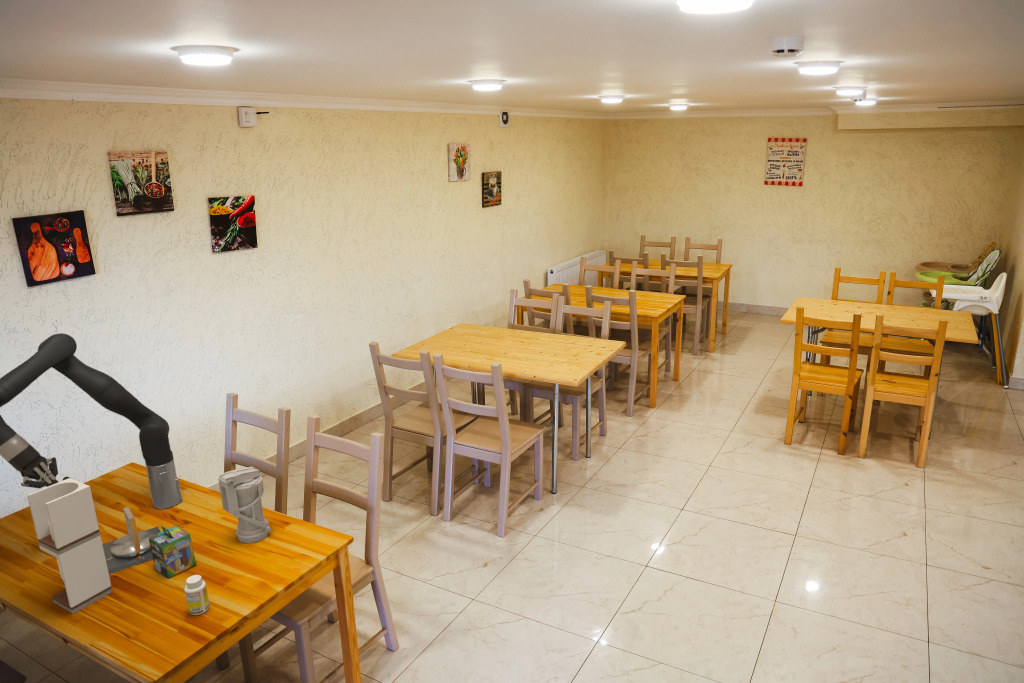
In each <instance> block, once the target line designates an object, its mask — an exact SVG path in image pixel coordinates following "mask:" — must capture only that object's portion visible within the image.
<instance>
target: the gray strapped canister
mask: <svg viewBox="0 0 1024 683" xmlns="http://www.w3.org/2000/svg"><path fill="white" fill-rule="evenodd" d="M218 486H219V491H220V493H219V494H220V498H221V505H222V509H223V510H224V511H226V512H227V513H229V514H230V515H232V516H233V517H235V518H237V520H238V524H237V529H236V532H235V535H236V537H237V539H238V541H239V542H240V543H243V544H254V543H255V544H256V543H257V542H261V541H262V540H264V539H265V538H267V536H268V535H269V532H270V531H271V530H272V527H270V526H269V520H268V519H267V518H266V517H265V516H264V511H263V510H264V509H263V503H262V497H263V495H264V492H265V488H264V481H263V477H262V474H261V473H260V470H259V469H258V468H255V467H253V466H249V467H242V468H237V469H232V470H229V471H225V472H223V473H219V477H218Z"/></svg>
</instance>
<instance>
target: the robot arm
mask: <svg viewBox="0 0 1024 683" xmlns="http://www.w3.org/2000/svg"><path fill="white" fill-rule="evenodd" d="M76 352H77V342H76V340H75V338H74V337H73V336H71V335H69V334H67V333H55V334H52V335H50V336H48V337H47V338H46V339H44V340H43V341H42V342H41V343H40V344H39V345H38V347H37V351H36V352H35V353H34V354H33V355H31V357H29V358H28V359H26V360H25V361H24V362H22V363H21V364H19V365H18V366H16V367H14V368H13V369H12V370H10V371H9V372H7V373H6V374H4V375H3V376H1V377H0V408H1V407H3V406H5V405H6V404H8V403H10V402H11V401H12V400H13V399H15V398H16V397H18V395H19V394H21V393H22V392H23V391H24V390H26V389H28V387H30V385H31V384H32V383H34V382H35V381H36V380H37V379H38V378H39V377H40V376H42V375H43V374H44V373H46V372H47V371H48V370H50V369H51V368H52V369H54V370H55V371H57V372H58V373H60V374H62V375H63V376H64V377H65V378H67V379H68V380H70V381H71V382H72V383H74V384H75V385H76V386H77V387H78V388H79V389H81V390H82V391H84V393H86V394H87V395H88V396H89V397H90V398H92V399H93V401H95V402H96V403H98V404H99V405H100V406H101V407H103V408H104V409H106V410H108V411H109V412H112V413H114V414H116V415H119V416H122V417H123V418H126V419H127V420H128V421H129V422H131V423H132V424H133V425H134V426H135V427H136V428H137V429H138V430H139V433H138V439H139V445H140V450H141V453H142V458H143V459H144V462H145V463H144V464H145V469H146V473H147V479H148V484H149V489H150V490H149V491H150V494H151V500H152V505H153V508H154V507H155V508H154V509H156V508H158V509H157V510H165V508H166V509H169V508H172V506H173V507H175V506H177V505H178V504H180V503H183V497H182V492H181V486H180V480H179V477H178V476H177V471H176V466H175V459H174V453H173V451H172V449H171V444H170V440H169V432H170V425H169V423H168V420H166V419H165V418H163V417H162V416H160V415H159V414H158V413H157V412H154V411H153V410H152V409H151V408H149V407H147V406H146V405H144V404H143V403H142V402H141V401H140V400H139V399H138V398H137V397H136V396H135V395H133V394H132V393H131V392H130V391H129V390H127V389H126V388H125V387H124V386H123V385H122V384H121V383H119V382H118V381H117V380H116V379H114V378H113V377H112V376H111V375H109V374H107V373H105V372H103V371H101V370H98V369H96V368H93V367H92V366H90V365H88V364H86V363H84V362H83V361H81V359H79V358H78V357H77V356H75V354H76ZM0 456H1V457H2V458H3V459H4V460H5V461H6V462H7V463H8V464H10V466H11V467H12V468H14V469H15V470H16V472H17V471H18V472H19V473H20V475H21V477H22V478H23V479H22V482H21V484H20V486H21V487H26V488H34V489H43V488H46V487H48V486H51V485H53V484H56V483H58V482H59V480H58V479H57V475H59V470H58V464H57V458H56V457H54V456H53V457H51V458H47V457H45V456H43V455H41V454H40V452H39V451H38V450H37V449H36V448H35V447H33V446H32V445H31V444H30V443H29V442H28V441H27V439H25V438H24V437H23V436H21V435H20V434H19V433H17V432H16V431H15V430H14V429H13V428H12V427H11V426H10V425H9V424H7V423H6V421H5V419H4V417H2V415H1V414H0ZM176 504H177V505H176Z"/></svg>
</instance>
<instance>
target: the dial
mask: <svg viewBox="0 0 1024 683" xmlns="http://www.w3.org/2000/svg"><path fill="white" fill-rule="evenodd" d="M122 509H123V513H124V518H125V523H126V527H127V528H126V529H127V532H128V534H124V535H123V536H121V537H119V538H117V539H115V540H116V541H115V542H114V543H113V544H112V545H111V552H112V555H114V556H116V557H132V556H136V555H139V554H141V553H144V552H146V551H148V550H149V549H151V547H150V542H149V537H151V536H154V535H155V534H154V533H152V532H148V531H145V530H141V531H138V528H137V523H136V518H135V516H134V515H133V513H132V510H131V509H130V507H129V506H126V507H124V508H122Z"/></svg>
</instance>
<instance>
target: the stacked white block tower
mask: <svg viewBox="0 0 1024 683" xmlns="http://www.w3.org/2000/svg"><path fill="white" fill-rule="evenodd" d="M26 496H27V501H28V504H29V505H28V506H29V509H30V512H31V517H32V522H33V526H34V529H35V535H36V537H37V542H38V546H39V550H41V551H43V552H45V553H47V554H49V555H51V556H52V557H54V558H56V561H57V565H58V570H59V574H60V578H61V579H62V581H63V583H64V587H65V589H63V590H61V591H59V592H58V593H56V594H53V595H52V596H51V598H52V603H53V602H54V604H55V603H56V604H55V605H57V604H58V605H57V606H58V607H60V606H61V608H62V609H63V610H66V611H68V612H69V613H71V614H75V613H78V612H79V611H81V610H82V609H84V608H86V607H87V606H89V605H91V604H93V603H95V602H97V601H98V600H100V599H102V598H104V597H106V596H107V595H110V594H111V593H113V588H112V583H111V578H110V574H109V573H108V568H107V564H106V559H105V554H104V550H103V545H102V544H103V540H102V537H101V536H102V535H101V532H100V527H99V521H98V518H97V514H96V508H95V504H94V499H93V494H92V490H91V486H90V485H88V484H85V483H83V482H80V481H78V480H76V479H74V478H72V477H70V478H68V479H66V480H63V479H62V480H61V481H58V483H56V484H53V485H51V486H48V487H46V486H45V487H42V488H40V489H39V490H36V491H34V492H31V493H28V494H26Z"/></svg>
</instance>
